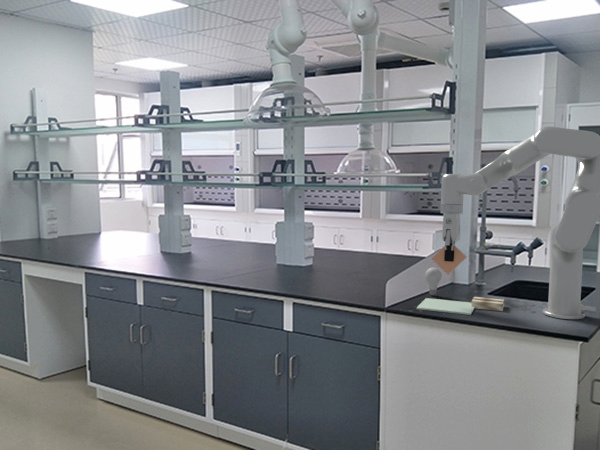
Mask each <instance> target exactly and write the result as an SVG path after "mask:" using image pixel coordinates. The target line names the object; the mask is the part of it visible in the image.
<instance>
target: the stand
mask: <svg viewBox="0 0 600 450" xmlns="http://www.w3.org/2000/svg"><path fill="white" fill-rule="evenodd" d="M470 303H471V306H474V307H475V308H474V309H478V310H486V311H487V310H488V311H496V312H497V311H498V312H503V311H504V307H505V299H504V298H503V299H502V298H492V297H491V298H490V297H481V296H473V297H472V299H471V302H470Z"/></svg>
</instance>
